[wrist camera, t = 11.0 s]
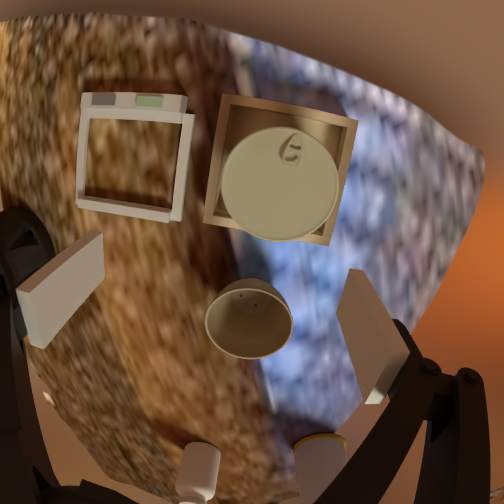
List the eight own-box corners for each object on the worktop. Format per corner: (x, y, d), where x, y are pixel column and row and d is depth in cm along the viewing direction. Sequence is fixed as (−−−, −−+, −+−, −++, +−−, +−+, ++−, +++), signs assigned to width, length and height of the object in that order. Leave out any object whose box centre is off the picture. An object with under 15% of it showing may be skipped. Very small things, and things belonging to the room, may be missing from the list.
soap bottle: (292, 460, 57) (292, 563, 33) (292, 433, 53) (293, 554, 29) (343, 455, 56) (354, 557, 32) (349, 428, 52) (366, 546, 28)
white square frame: (78, 202, 38) (65, 209, 35) (85, 93, 32) (72, 92, 29) (181, 220, 38) (174, 228, 35) (198, 98, 32) (191, 95, 29)
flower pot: (242, 336, 44) (237, 370, 38) (200, 283, 41) (187, 313, 35) (304, 306, 42) (308, 338, 35) (265, 246, 39) (263, 272, 32)
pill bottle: (227, 449, 57) (219, 508, 43) (211, 461, 60) (201, 515, 46) (194, 436, 55) (180, 496, 42) (179, 449, 58) (165, 504, 45)
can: (330, 142, 33) (358, 151, 21) (302, 217, 36) (315, 260, 25) (250, 115, 32) (239, 109, 21) (226, 192, 36) (204, 224, 24)
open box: (209, 213, 37) (202, 222, 34) (227, 96, 32) (222, 93, 28) (323, 234, 38) (328, 246, 34) (349, 121, 32) (358, 120, 29)
